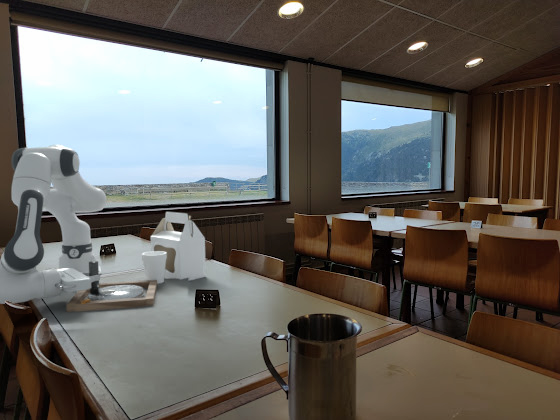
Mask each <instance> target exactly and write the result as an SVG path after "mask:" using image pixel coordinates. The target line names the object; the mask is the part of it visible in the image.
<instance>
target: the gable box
mask: <svg viewBox="0 0 560 420" xmlns="http://www.w3.org/2000/svg"><path fill="white" fill-rule="evenodd" d="M191 219H192V215H189V213H187V212H186V213H185V212H176V211H166V212H165V217H163V218H161V220H160V221H159V223H158V224H157V226H156V227H155V229H154V231H153V232H152V233H151V235H150V252H152V251H164V252H167V259H166V265H165V274H164V280H165V279H167V280H168V279H177V280H184V279H188V281H194V280H198V279H201V278H206V272H207V271H206V270H207V269H206V237H205V236H204V235H203V233H202V232H201V230H200V229H199V227H198V226H197V225H196V223H195V222H194V221H192V220H191ZM172 223H174V224H184V226H183V229H182V231H181V232H180V231H176V230H174V227H173V224H172Z"/></svg>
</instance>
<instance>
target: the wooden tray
mask: <svg viewBox="0 0 560 420" xmlns="http://www.w3.org/2000/svg"><path fill="white" fill-rule="evenodd" d="M116 285H135V286H140V287H142V288H143V289H147V292H146V294H145V297H144V296H143V297H142V298H129V299H115V300H101V301H90V299H88V298H87V297H88V294H89V293H90V289H88V290H83V291H76V293H75V295H74V296H73V297H72V298H71V299H70V300H69V301H68V302H67V304H66V305H65V306H66V312H68V313H69V312H71V313H72V312H74V313H75V312H76V313H77V312H89V311H100V310H114V309H125V308H129V309H130V308H139V307H148V306H154V305H155V299H156V295H157V287H158V284H157V280H151V281H150V280H146V279H145V280H133V281H132V280H131V281H117V282H101V283H100V282H99V288H103V287H109V286H116Z"/></svg>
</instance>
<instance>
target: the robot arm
mask: <svg viewBox="0 0 560 420" xmlns="http://www.w3.org/2000/svg"><path fill="white" fill-rule="evenodd" d="M10 162H11V167H12V169H13V171H14V173H13V177H12V183H11V190H10V191H11V193H10V194H11V201H12V202H13V204H14V205H16V206H17V210H18V211H17V212H18V213H17V219H16V226H15V232H14V234H13V236H12V238H10V240H9V241H8V242H7V244H6V246H5V247H4V250H3V253H2V254H1V257H0V304H1V305H2V304H5V301H9V302H12V303H11V304H18V303H25V302H28V301H31V300H34V299H48V298H52V297H58V296H60V295H61V292H65V293H74V292H78V291H83V290H88V289H90V288H91V282H94V281H98V280H99V281H100V280H101V276H100V275H102V269H101V266H100V265H98V268H99V275H93V276H89V262H90V261H96V256H95V254H94V252H93V243H92V242H91V239H92V238H91V228H90V225H89V224H88V223H87V222H86V221H83V220H81V219H79V218H78V217H77V215H76V213H77V214H79V213H94V212H99V211H102V210H103V209H104V208H105V207H106V205H107V201H108V200H107V195H106V193H105V192H104V190H102V189H101V188H99V187H96V186H94V185H92V184H90V183H89V182H88V181H86V180H85V179H84V178H83V177H82V175H81V173H80V172H79V169H80V166H81V165H80V163H81V161H80V157H79V154H78V152H76V151H75V150H74V149H72V148H69V147H65V146H63V145H60V144H52V145H48V146H44V147H43V146H42V147H41V146H39V147H21V148H18V149H16V150H14V152H13V154H12V155H11V161H10ZM51 185H52V186H51ZM51 187H53V188H51ZM43 209H45V210H46V212H49V213H50V214H52V216H54V217H55V218H56V221H57V222H58V224H59V225H60V226H59V227H60V230H61V236H62V244H61V253H62V255H61V256H59V258H58V268H51V267H50V268H44V269H41V270H37V266H38V265H39V264H40V263H42V261H43V259H44V255H45V249H44V248H45V247H44V245H43V242H42V239H41V234H40V233H41V232H40V231H41V224H42V223H41V222H42V216H43ZM5 305H6V304H5Z"/></svg>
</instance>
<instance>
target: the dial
mask: <svg viewBox="0 0 560 420" xmlns="http://www.w3.org/2000/svg"><path fill="white" fill-rule="evenodd" d="M98 266H99V261H98V260H95V261H90V262H89V276H93V275H100V274H99V268H98ZM99 283H100V280H98V281H94V282H91V288H90V293H89V294H88V295H87V297H88V298H87V299H90V301H101V300H115V299H129V298H143V297H144V295H145V293H144V290H145V288H142V287H140V286H135V285H116V286H109V287H103V288H99Z"/></svg>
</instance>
